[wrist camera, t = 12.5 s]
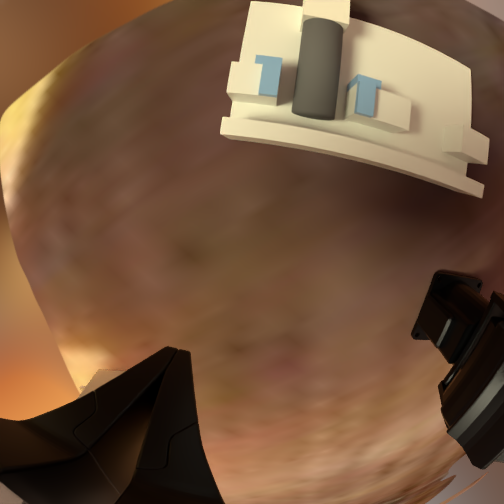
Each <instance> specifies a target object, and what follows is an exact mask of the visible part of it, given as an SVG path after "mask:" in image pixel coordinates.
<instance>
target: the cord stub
mask: <svg viewBox="0 0 504 504" xmlns="http://www.w3.org/2000/svg"><path fill="white" fill-rule="evenodd" d="M349 15H350V0H304V1H303V8H302V17H301V25H300V32H302V35H301V43H300V51H299V58H298V66H297V74H296V81H295V88H294V96H293V103H292V110H291V112H292V113H293V114H296V115H298V116H302V117H306V118H310V119H316V120H334V119H335V112H336V104H337V96H338V86H339V77H340V66H341V55H342V42H343V34H344V32H345V31H346V29H347V27H348V25H349Z"/></svg>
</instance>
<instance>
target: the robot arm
mask: <svg viewBox="0 0 504 504" xmlns="http://www.w3.org/2000/svg"><path fill="white" fill-rule="evenodd" d="M439 276H440V278H439V279H438V277H439ZM437 279H438V280H437ZM482 284H483V283H482V281H481V280H480V279H478V278H472V277H467V276H461V275H456V274H450V273H444V272H436V273H435V274H434V276H433V279H432V282H431V285H430V287H429V290H428V293H427V296H426V298H425V301H424V303H423V306H422V308H421V311H420V313H419V316H418V318H417V321H416V323H415V325H414V328H413V330H412V332H411V336H412V338H413V339H415V340H431V342H432V343H433V345H434V346H435V347H436V348H438V349H439V351H440V352H441V353H442V355H443V356H444V358H445V359H446V360H447V362H448V363H449V364H453V367H452V368H451V370H450V371H449V373H448V374H447V375H446V377H445V378H444V380H442V381H441V382H440V384H439V385H438V389H439V394H440V399H441V404H442V407H441V413H442V416H443V418H444V421H445V424H446V427H447V428H448V430H447V433H448V434H449V435H450V436H451V437H453V438H454V439H455V440H456V441H457V442H458V443H459V444H460V445H461V446H462V447H463V449H464V451H465V452H466V454H467V456H468V458H469V459H470V461H471V463H472V465H474V466H476V467H478V468H480V469H486V468H487V467H488V466H489V465H490V464H491V463H493V462H494V461H496V462H502V463H504V295H503V294H501V293H498V292H495V291H493V293H492V295H491V297H490V298H491V300H490V302H489V301H488V300H487V299H485V298H484V297H483V296H482V295H480V294H479V293H480V290H481V287H482ZM416 333H417V334H416ZM415 334H416V335H415ZM94 391H95V392H94ZM94 391H91V392H89V393H88V394H86V395H84V396H82V397H80V398H78V399H76V400H75V401H73V402H71V403H68V404H66V405H64V406H61V407H59V408H57V409H54V410H52V411H50V412H47V413H44V414H42V415H39V416H37V417H34V418H31V419H27V420H21V421H15V420H8V419H3V418H0V504H225V503H224V501H223V499H222V497H221V494H220V492H219V490H218V487H217V485H216V482H215V480H214V477H213V475H212V472H211V470H210V467H209V464H208V462H207V459H206V455H205V452H204V449H203V446H202V441H201V436H200V430H199V424H198V416H197V408H196V400H195V392H194V383H193V373H192V363H191V353H190V351H186V350H182V349H179V350H178V349H177V348H173V347H169V346H166V347H164V348H163V349H161V350H160V351H158V352H156V353H155V354H153V355H151V356H150V357H148V358H147V359H145V360H143V361H142V362H140V363H138V364H137V365H135V366H133V367H132V368H130V369H128V370H127V371H125V372H123V373H122V374H120V375H118V376H117V377H115V378H113V379H112V380H110V381H108V382H107V383H105V384H103V385H102V386H100V387H98V388H96V389H95V390H94Z"/></svg>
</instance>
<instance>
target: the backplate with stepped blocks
mask: <svg viewBox="0 0 504 504" xmlns="http://www.w3.org/2000/svg"><path fill="white" fill-rule="evenodd" d="M302 8H303V7H300V6H293V5H286V4H278V3H268V2H256V1H251V4H250V9H249V14H248V19H247V24H246V29H245V34H244V39H243V44H242V50H241V55H240V61H239V62H232V63H231V69H230V74H229V80H228V86H227V94H228V95H229V97H230V98H231V100H232V101H233V102H232V109H231V115H230V118H229V117H222V124H221V130H220V134H221V135H223V136H225V137H226V138H228V139H233V140H241V141H250V142H257V143H264V144H271V145H278V146H284V147H290V148H296V149H301V150H307V151H312V152H317V153H322V154H327V155H332V156H336V157H341V158H345V159H350V160H354V161H358V162H362V163H366V164H370V165H374V166H377V167H381V168H385V169H388V170H392V171H395V172H399V173H402V174H405V175H409V176H412V177H415V178H418V179H421V180H424V181H427V182H430V183H433V184H436V185H439V186H442V187H445V188H447V189H450V190H453V191H455V192H459V193H463V194H467V195H471V196H475V197H478V198H482V196H483V190H484V185H483V184H481V183H479V182H477V181H475V180H473V179H470V178H468V177H466V171H467V164H468V163H475V164H484V165H487V161H488V151H489V138H487V137H486V136H484V135H482V134H481V133H479V132H477V131H475V130H473V129H472V128H471V104H472V96H471V70H470V69H469V68H468V67H466V66H464V65H462V64H461V63H459V62H457V61H456V60H454V59H452V58H450V57H448V56H446V55H445V54H443V53H441V52H439V51H437V50H435V49H433V48H431V47H429V46H426V45H424V44H422V43H420V42H418V41H415V40H413V39H411V38H408V37H406V36H404V35H401V34H399V33H396V32H393V31H391V30H388V29H385V28H383V27H380V26H377V25H374V24H371V23H368V22H364V21H361V20H358V19H354V18H351V17H349V25H348V27H347V29H346V31H345V32H344V34H343V42H342V55H341V66H340V77H339V86H338V96H337V104H336V112H335V119H334V120H316V119H310V118H306V117H302V116H298V115H296V114H293V113H292V112H291V110H292V103H293V96H294V88H295V81H296V74H297V66H298V58H299V51H300V43H301V35H302V32H300V25H301V17H302Z"/></svg>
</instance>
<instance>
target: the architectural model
mask: <svg viewBox="0 0 504 504" xmlns="http://www.w3.org/2000/svg"><path fill="white" fill-rule="evenodd" d="M123 372H125V371H115V370H102V369H99V370H98V371H97V372H96V374H95V375H94V376H93V378H92V379H91V380H90V382H89V383H88V385H87V386H86V387H85V386H81V387H80V389H81V391H82V393H81V394H80V396H79V397H78V398H80V397H82V396H84V395H86V394H88V393H89V392H91V391H94V390H95V389H96V388H98V387H100V386H102V385H103V384H105V383H107V382H108V381H110V380H112V379H113V378H115V377H117V376H118V375H120V374H122V373H123ZM94 392H95V391H94ZM78 398H77V399H78Z"/></svg>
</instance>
